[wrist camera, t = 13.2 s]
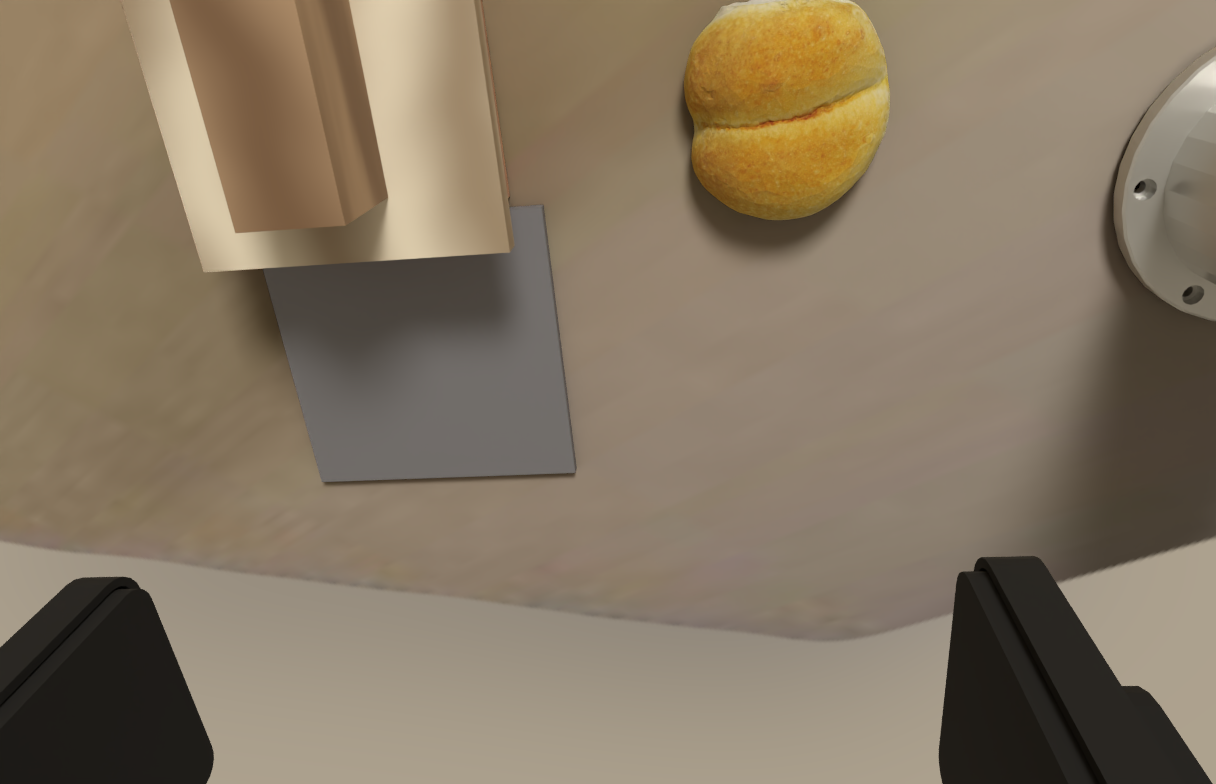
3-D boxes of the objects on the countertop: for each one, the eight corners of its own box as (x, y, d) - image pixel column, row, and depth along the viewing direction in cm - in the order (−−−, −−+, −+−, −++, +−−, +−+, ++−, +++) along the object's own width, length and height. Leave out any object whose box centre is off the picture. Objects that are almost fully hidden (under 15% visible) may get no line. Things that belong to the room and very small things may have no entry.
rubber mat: (543, 204, 38) (541, 207, 37) (576, 468, 44) (575, 472, 43) (256, 226, 39) (251, 228, 39) (325, 477, 45) (321, 482, 45)
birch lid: (462, -127, 28) (414, -154, 23) (514, 245, 34) (484, 287, 29) (112, -84, 30) (-4, -102, 25) (216, 265, 35) (139, 308, 30)
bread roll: (700, 223, 38) (701, 246, 34) (676, 11, 34) (674, 12, 31) (886, 198, 37) (907, 219, 33) (881, -25, 33) (905, -28, 29)
